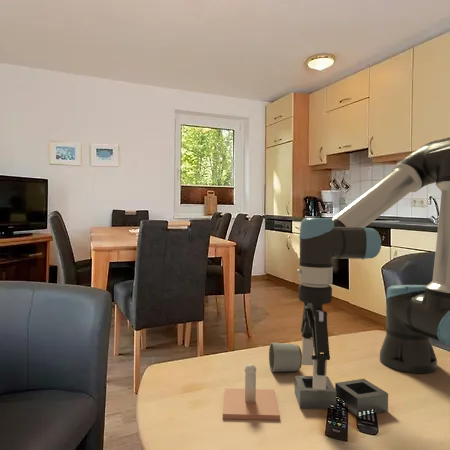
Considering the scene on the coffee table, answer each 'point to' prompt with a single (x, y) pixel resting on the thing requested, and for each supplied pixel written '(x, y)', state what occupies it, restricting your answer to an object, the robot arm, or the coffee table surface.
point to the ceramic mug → (284, 357)
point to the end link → (313, 393)
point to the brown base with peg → (250, 400)
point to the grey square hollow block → (362, 396)
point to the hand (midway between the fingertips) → (312, 375)
